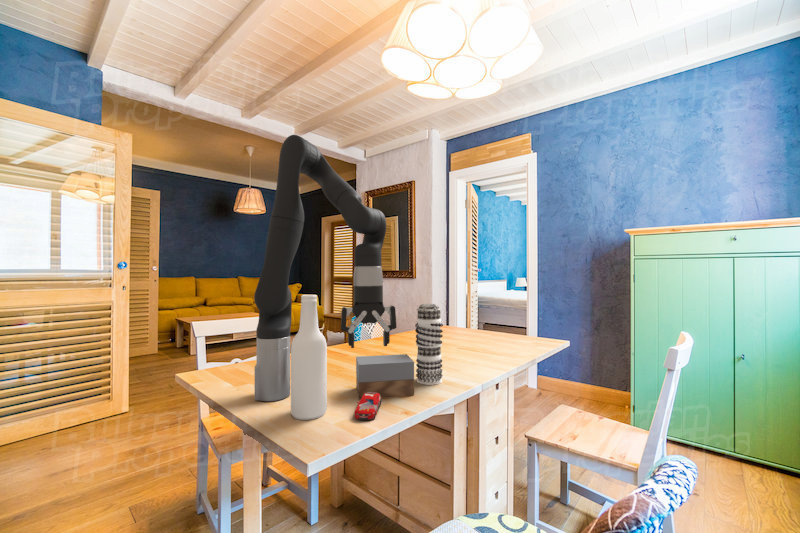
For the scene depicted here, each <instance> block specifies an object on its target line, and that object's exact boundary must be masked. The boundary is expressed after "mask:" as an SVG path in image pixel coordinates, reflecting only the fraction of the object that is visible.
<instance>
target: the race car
mask: <svg viewBox="0 0 800 533" xmlns="http://www.w3.org/2000/svg"><path fill="white" fill-rule="evenodd" d="M356 403H357V405H356V408H355V410H354V419H356V420H360V421H370V420H375V419H376V417H377V414H378V413H379V409H380V407H381V406H382V404H381V403H382V398H381V397H380V394H379V393H374V392H368V393H365V394H364V395H363V396H362V398H361V399H360V400H358V401H356Z"/></svg>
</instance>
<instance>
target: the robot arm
mask: <svg viewBox="0 0 800 533" xmlns="http://www.w3.org/2000/svg"><path fill="white" fill-rule="evenodd" d="M300 174H303V175H305V176H307V177H308V178H310V179H311V180H313V181H314V182H315V183H317V185H318V186H320V187H321V190H322V192H323V193H322V194H324V196H325V198H326V199H327V200H328V201H329V203H331V204H332V205H333V206H334V208H336V209H337V210H338V211H339V212H340V214H341V216H342V218H343V220H344V222H345V223H346V225H347V226H348V227H349V229H350V230H352V231H353V232H355V233H356V234H360V235H363V239H362V242H361V243H359V244H357V245H356V246H355V248H354V254H353V255H354V257H353V258H354V260H353V262H354V271H353V306H352V307H346V306H343V307H341V316H340V331H342V332H345V333H347V342H348V346H349V347H350V349H354V348H355V333H354V331H355V330H356V328H358V326H359V325H360V324H363V325H364V324H365V325H366V324H376V323H379V325H380V326H381V327H382V329H383V331H382V332H383V333H382V334H383V335H382V338H383V342H382V343H383V344H382V345H383V346H384V347H388V344H390V339H391V338H390V332H391V331H392V330H395V329H397V314H396V307H395V305H393V304H391V305H389V306H385V305H384V291H383V290H384V289H383V287H384V284H383V283H384V277H383V269H382V249H383V246H384V240H385V236H386V234H387V233H386V232H387V220H386V216H385V214H384V213H383V212H382V211H381V210H379V209H377V208H373V207H369V206H366V205H365V204H363V200H362V197H361V195H360V194H359V193H358V192H357V191H356V189H354V187H352V186H351V185H350V184H349V183H348V182H347V181H346V180H345V179H344V178H343V177H342V176H340V175H339V173H337V172H336V171H335V170H334V169H333V168H332V166H331V165H330V164H329V162H328V161H327V159H326V158H325V157H324V155H323V153H322V152H321V151H320V149H319V148H318V147H317V146H316V145H315V144H313V143H312V142H310V141H309V140H307V139H305V138H303V137H302V136H300V135H298V134H291V135H288V137H286V139H285V140H284V141H283V143H282V145H281V149H280V153H279V159H278V171H277V180H276V182H277V183H276V189H275V194H274V195H275V196H274V201H273V207H272V212H271V216H270V220H269V224H268V230H267V238H266V244H265V253H264V254H265V255H264V261H263V266H262V269H261V272H260V276H259V279H258V283H257V284H256V288H255V291H254V296H253V298H254V299H253V300H254V304H255V307H256V308H257V309H258V321H257V322H258V324H257V327H256V361H255V362H256V364H255V365H254V401H261V402H274V401H280V400H284V399H286V398H288V397H289V396H291V326H292V303H293V302H292V300H293V299H292V292H291V289H290V287H289V280H290V273H291V272H290V271H291V268H292V265H293V261H294V258H295V256H296V254H297V251H298V248H299V246H300V242H301V238H302V234H303V230H304V225H305V224H304V223H305V211H304V206H303V202H302V198H301V194H300V187H299V186H300V185H299V183H300V177H301V176H300ZM385 312H386V314H387V315H389V323H390V324H387V323H386V321H384V319H383V318H382V316H383V314H384V313H385ZM351 313H353V315H354V316H355V318H354V320H352V322H351V324H350V325H349V326H347V317H349V316H350V314H351Z"/></svg>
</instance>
